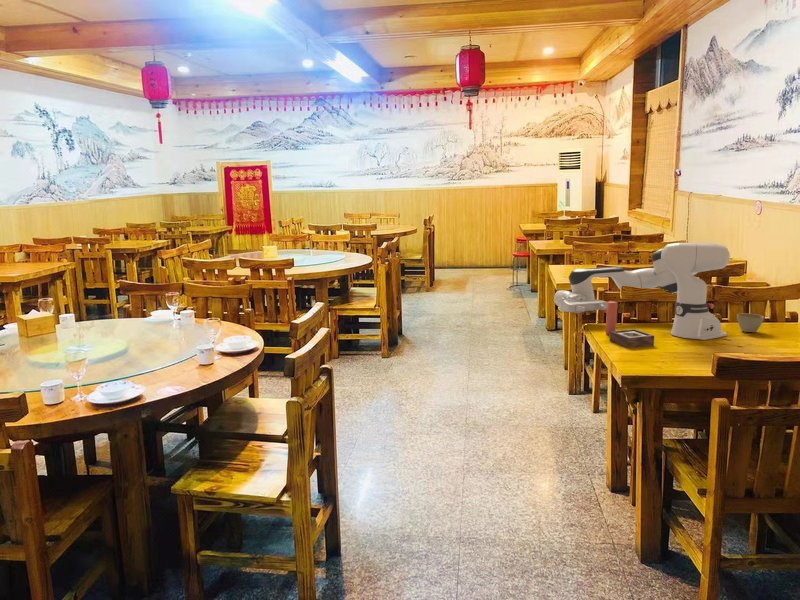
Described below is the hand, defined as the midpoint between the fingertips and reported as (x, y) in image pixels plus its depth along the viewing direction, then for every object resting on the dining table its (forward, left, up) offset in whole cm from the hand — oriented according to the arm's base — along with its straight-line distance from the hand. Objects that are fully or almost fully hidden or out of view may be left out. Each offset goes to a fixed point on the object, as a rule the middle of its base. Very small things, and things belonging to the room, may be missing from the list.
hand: (594, 308), depth 279 cm
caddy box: (+1, +27, -9) cm, 29 cm away
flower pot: (-58, +28, -9) cm, 65 cm away
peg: (0, +12, -9) cm, 15 cm away
